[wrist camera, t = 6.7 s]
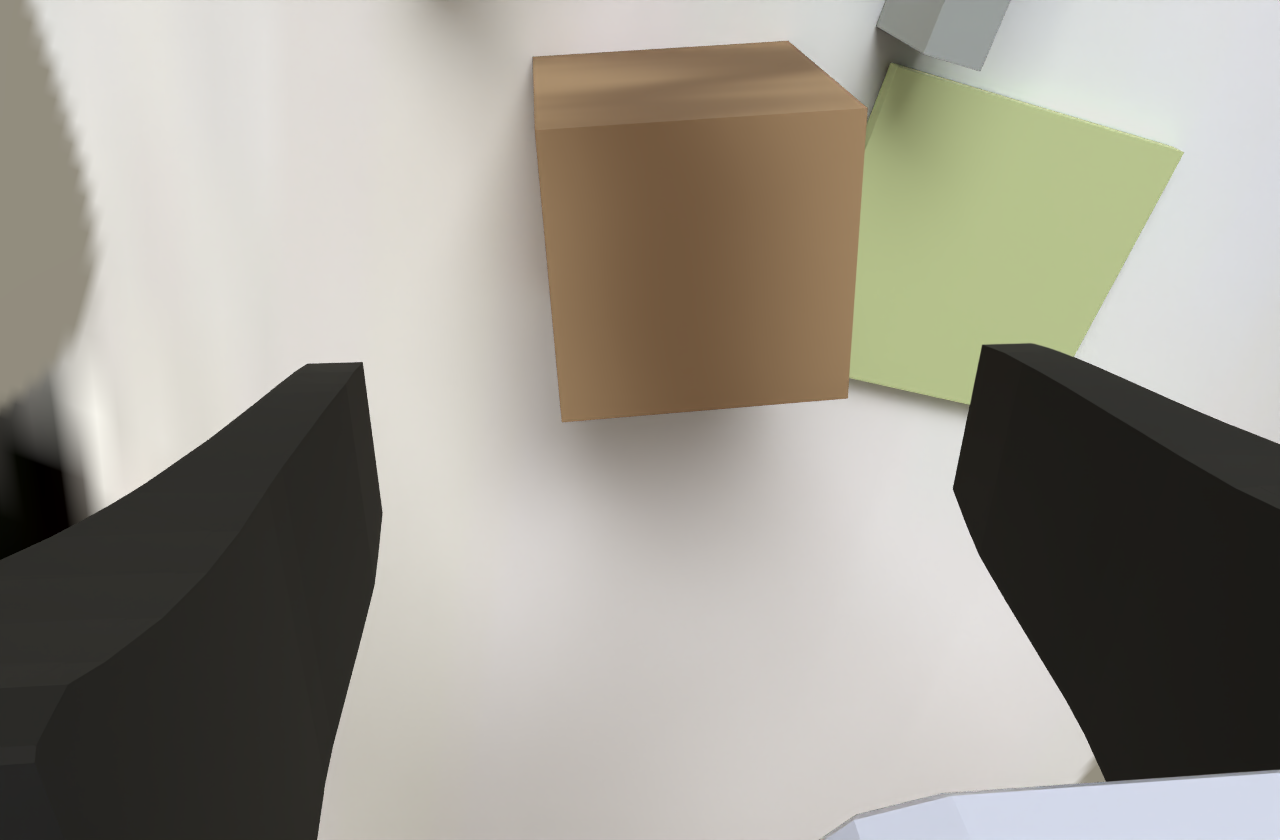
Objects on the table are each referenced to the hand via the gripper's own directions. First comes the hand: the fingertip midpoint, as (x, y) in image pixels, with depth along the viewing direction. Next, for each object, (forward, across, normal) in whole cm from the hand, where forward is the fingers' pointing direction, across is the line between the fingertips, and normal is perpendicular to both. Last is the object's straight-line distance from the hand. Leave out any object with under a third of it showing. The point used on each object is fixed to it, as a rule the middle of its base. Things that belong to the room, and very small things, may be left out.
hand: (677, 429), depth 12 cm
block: (+8, -1, 0) cm, 9 cm away
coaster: (+8, -7, +1) cm, 11 cm away
